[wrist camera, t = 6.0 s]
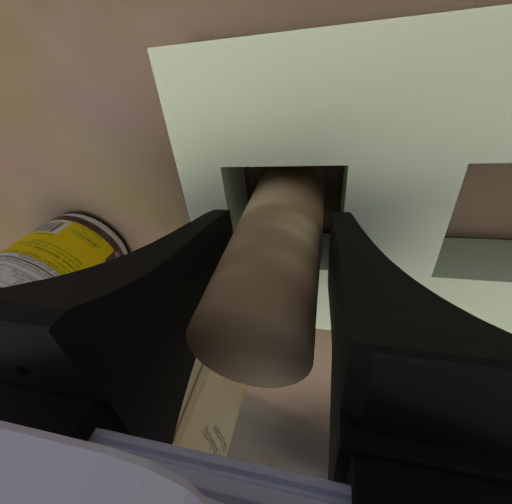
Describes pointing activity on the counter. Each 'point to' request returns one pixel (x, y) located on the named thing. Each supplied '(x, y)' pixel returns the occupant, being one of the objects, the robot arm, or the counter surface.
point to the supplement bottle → (59, 250)
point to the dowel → (266, 285)
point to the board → (358, 133)
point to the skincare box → (208, 411)
